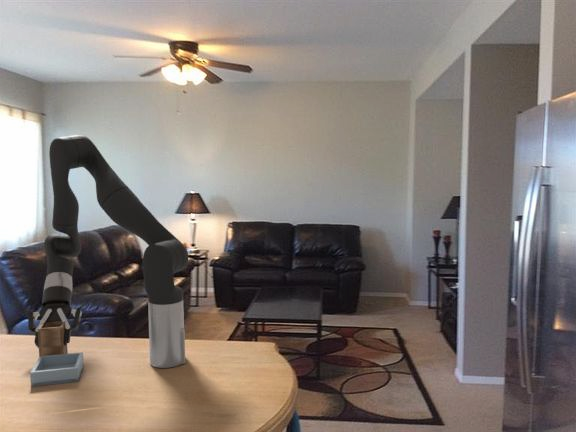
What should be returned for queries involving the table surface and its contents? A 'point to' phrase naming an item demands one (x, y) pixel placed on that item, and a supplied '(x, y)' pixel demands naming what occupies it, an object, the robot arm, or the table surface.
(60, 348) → the walnut crate
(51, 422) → the table surface
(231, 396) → the table surface
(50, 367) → the blue crate
